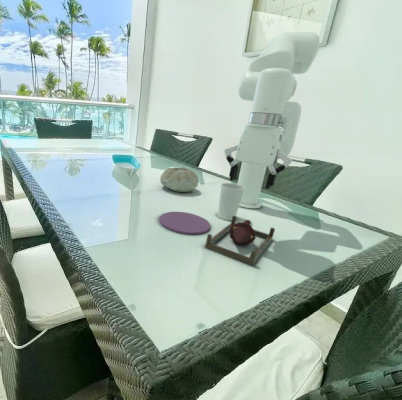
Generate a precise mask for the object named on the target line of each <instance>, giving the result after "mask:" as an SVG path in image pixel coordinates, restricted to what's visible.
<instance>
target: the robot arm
mask: <svg viewBox="0 0 402 400" xmlns="http://www.w3.org/2000/svg"><path fill="white" fill-rule="evenodd" d="M319 48H320V37H319V35H318V33H316V32H315V31H288V32H280V33H278V34H276V35H274V36H273V37H272V38H271V39H270V40H269V43H268V45H267V48H266V49H262V51H261V52H260V53H259V56H258V57H256V58H255V59H253V60H251V61H250V62H249V63H248V64H247V65H246V67H245V68H244V71H243V73H242V76H241V78H240V81H239V85H238V96H239V98H241V100H243V101H249V102H251V101H252V105H251V108H250V114H249V118H248V122H247V124H245V125H244V127H243V130H242V132H241V135H240V138H239V141H238V144H237V145H235V146H231V147H228V148H225V149H224V154H225V157H226V161H227V162H228V164H229V166H230V170H229V175H228V177H229V181H232V182H233V181H235V180H236V179H237V175H238V179H237V183H236V184H238V185H241V186H243V187H244V188H245V189H244V192H243V195H242V197H241V200H240V204H239V207H241V208H246V209H260V208H261V207H262V202H260V203H258V201H259V199H260V196H261V191H262V187H263V183H264V179H265V175H266V171H267V168H268V170H269V172H270V173H269V174H268V175H267V179H266V183H265V186H264V188H265V189H266V190H269V189H271V187H273V186H274V185H275V181H276V178H277V174H279V173H281V172H283V171H285V170H286V169H287V167H288V166H290V165H291V164H292V162H293V159H292V158H291V157H289V156H288V155H290V154H291V152H292V151H293V148H294V144H295V140H296V136H297V132H298V128H299V123H300V118H301V115H302V106H301V104H300V103H299V102H297V101H292V100H291V101H289V100H290V99H291V98H293V96H294V95H295V93H296V90H297V86H298V81H297V79H296V77H295V75H301V74H305V73H307V72H308V71H309V70H310V68H311V66H312V64H313V62H314V60H315V59H316V57H317V55H318V52H319ZM233 152H235V158H234V157H233V156H232V153H233ZM279 159H280V160H281V161H282V162H283V163H282V164H281V165H280V166H278V167H277V163H278V160H279ZM240 163H241V165H240V169H239V166H238V165H239V164H240ZM238 171H239V174H238Z"/></svg>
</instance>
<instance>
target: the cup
mask: <svg viewBox="0 0 402 400" xmlns="http://www.w3.org/2000/svg"><path fill="white" fill-rule="evenodd" d="M244 189H245V188H244V187H243V186H241V185H238V184H237V183H233V182H222V183H221V185H220V194H219V202H218V212H217V217H218V218H220V219H222V220H226V221H232V217H233V216H236V217H237V213H238V209H239V207H240V206H239V204H240V200H241V197H242V195H243V192H244Z"/></svg>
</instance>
